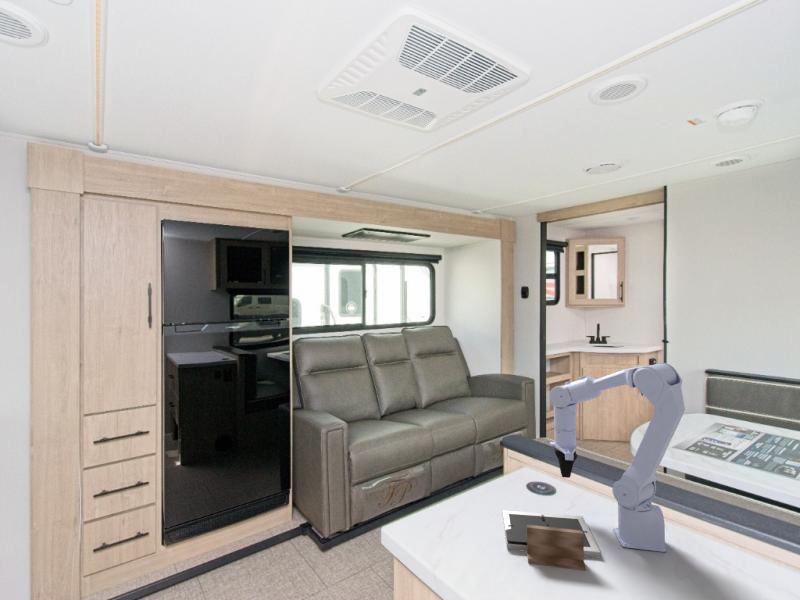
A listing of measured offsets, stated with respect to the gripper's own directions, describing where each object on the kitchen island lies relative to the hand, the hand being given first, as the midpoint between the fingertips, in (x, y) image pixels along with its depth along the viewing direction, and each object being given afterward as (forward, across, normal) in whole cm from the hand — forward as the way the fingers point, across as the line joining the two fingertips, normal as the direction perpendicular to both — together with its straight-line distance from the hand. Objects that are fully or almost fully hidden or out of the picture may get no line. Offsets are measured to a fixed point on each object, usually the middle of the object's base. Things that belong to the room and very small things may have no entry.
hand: (565, 476), depth 115 cm
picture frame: (+10, +14, -7) cm, 18 cm away
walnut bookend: (+9, +25, -6) cm, 27 cm away
